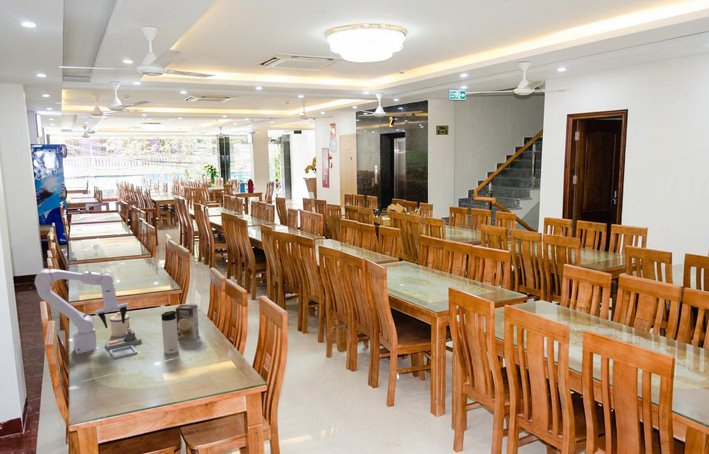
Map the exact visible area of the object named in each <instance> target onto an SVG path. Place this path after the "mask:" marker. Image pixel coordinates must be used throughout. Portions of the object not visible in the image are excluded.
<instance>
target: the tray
mask: <svg viewBox="0 0 709 454" xmlns="http://www.w3.org/2000/svg"><path fill="white" fill-rule="evenodd" d="M108 352H109V354H110V356H111V357H112V358H113V359H114V360H116V359H120V358H125V357H130V356H133V355H138V354H139V353H138V350H137V349H136V348H135V347H134V345H131V346H126V347H122V348H117V349H113V350H108Z"/></svg>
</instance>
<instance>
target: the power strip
mask: <svg viewBox="0 0 709 454" xmlns="http://www.w3.org/2000/svg"><path fill="white" fill-rule="evenodd" d="M142 343H143V340H142V338H141V337H140V336H139V334H138V335H137V334H135V340H133V341H128V342H125V337H124V338H123V337H122V338H118V339H113V340H109V341H104V345H105V349H106V350H107V351H109V350H113V349H117V348H122V347H126V346H131V345H132V346H135V345H138V344H139V345H140V344H142Z"/></svg>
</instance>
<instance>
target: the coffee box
mask: <svg viewBox="0 0 709 454" xmlns="http://www.w3.org/2000/svg"><path fill="white" fill-rule="evenodd" d="M175 311H176V324H177V338H178V340H195V339H197V338H198V337H199V336H200V331H199V315H198V313H199V311H198V305H196V304H180V305H178V306H177V307H176V308H175Z"/></svg>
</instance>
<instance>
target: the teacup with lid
mask: <svg viewBox="0 0 709 454" xmlns="http://www.w3.org/2000/svg"><path fill="white" fill-rule="evenodd" d="M109 321H110V331H111V336H112V337H114V338H121V337H122V338H123V337H125V335H124V332H128V330H127V329H128V328H131V327H130V316H129V315H128V314H126V315H125V323H122V319H121V313H120V311H117V312H116V314H114V315H112V316H111V317H110V318H109Z"/></svg>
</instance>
